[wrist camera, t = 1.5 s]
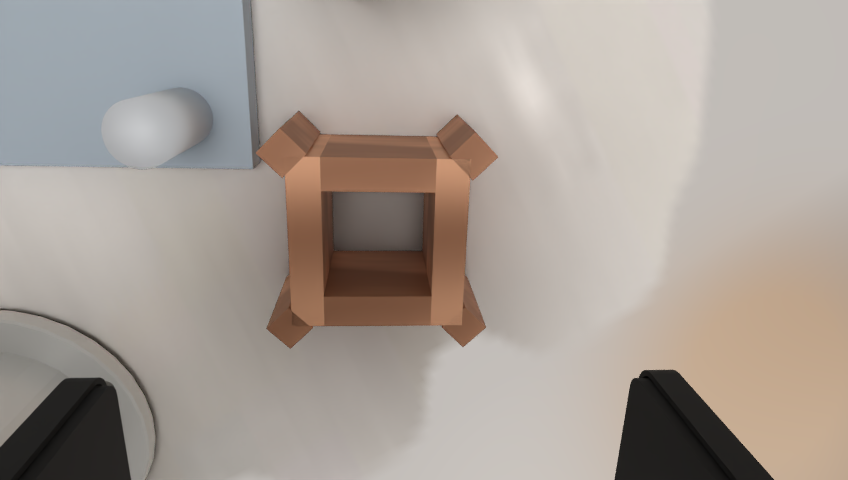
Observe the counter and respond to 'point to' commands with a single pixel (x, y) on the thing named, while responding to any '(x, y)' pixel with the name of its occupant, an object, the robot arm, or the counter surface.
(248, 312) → the counter surface
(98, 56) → the gear board
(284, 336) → the brown open boxy piece
